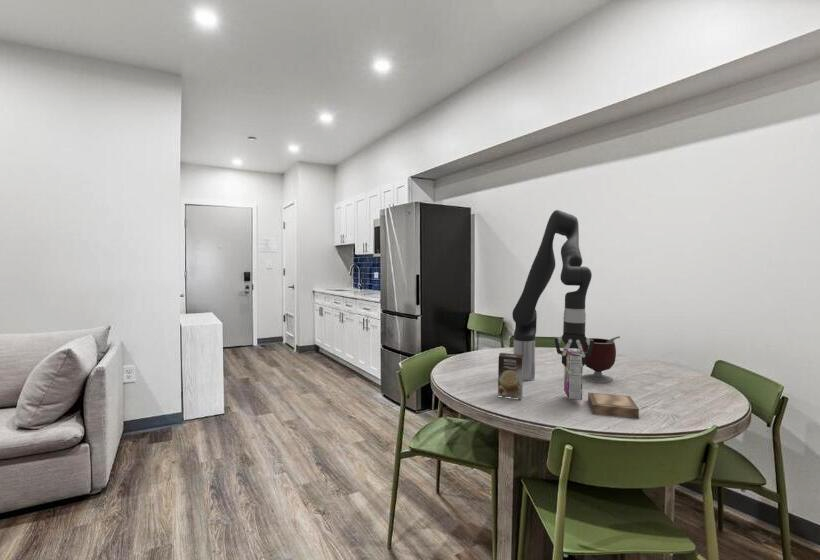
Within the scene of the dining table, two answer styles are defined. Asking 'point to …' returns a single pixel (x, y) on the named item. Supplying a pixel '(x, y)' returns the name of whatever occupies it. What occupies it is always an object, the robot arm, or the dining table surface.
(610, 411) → the walnut board
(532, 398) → the dining table surface
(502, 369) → the coffee box
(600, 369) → the mate gourd
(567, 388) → the candy bar box
